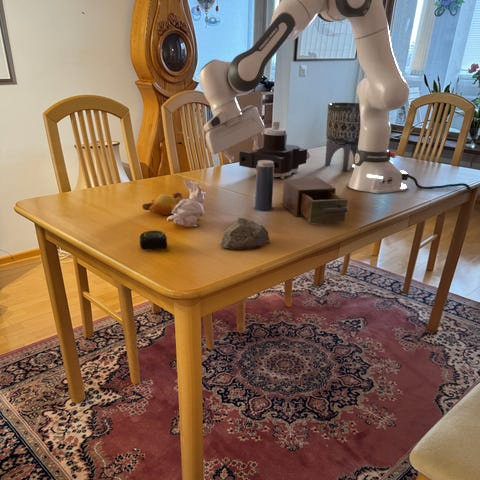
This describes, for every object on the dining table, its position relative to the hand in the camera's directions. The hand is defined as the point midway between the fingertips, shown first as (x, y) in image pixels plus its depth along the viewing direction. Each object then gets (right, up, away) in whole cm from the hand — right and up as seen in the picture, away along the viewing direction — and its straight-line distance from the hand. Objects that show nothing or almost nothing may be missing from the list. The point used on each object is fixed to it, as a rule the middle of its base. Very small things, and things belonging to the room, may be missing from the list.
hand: (244, 156), depth 153 cm
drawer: (+24, -24, -13) cm, 36 cm away
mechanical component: (+16, +8, +44) cm, 47 cm away
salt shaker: (+6, -18, -2) cm, 19 cm away
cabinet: (+21, -19, -2) cm, 28 cm away
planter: (+46, +15, +57) cm, 75 cm away
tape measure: (-24, -37, -35) cm, 56 cm away
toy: (-25, -21, -7) cm, 34 cm away
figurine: (-17, -27, -18) cm, 37 cm away
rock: (0, -35, -31) cm, 47 cm away
